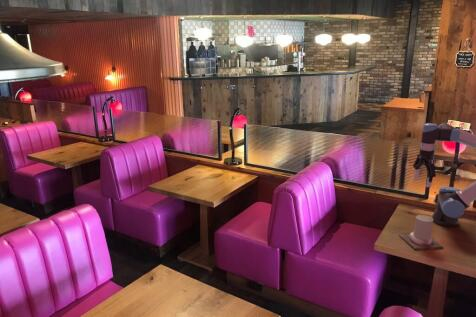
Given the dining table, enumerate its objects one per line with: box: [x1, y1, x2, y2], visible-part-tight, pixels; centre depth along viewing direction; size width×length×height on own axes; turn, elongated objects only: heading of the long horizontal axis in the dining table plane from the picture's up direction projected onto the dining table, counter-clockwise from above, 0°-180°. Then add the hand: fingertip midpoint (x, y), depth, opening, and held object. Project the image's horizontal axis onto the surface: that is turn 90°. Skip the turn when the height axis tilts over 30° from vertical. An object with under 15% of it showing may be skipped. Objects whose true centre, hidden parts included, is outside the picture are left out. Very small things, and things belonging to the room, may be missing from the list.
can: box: [413, 214, 434, 240], centre depth 227 cm, size 9×9×12 cm
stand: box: [398, 231, 444, 251], centre depth 230 cm, size 17×17×4 cm
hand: (422, 183), depth 242 cm, fingers open, 13 cm apart
